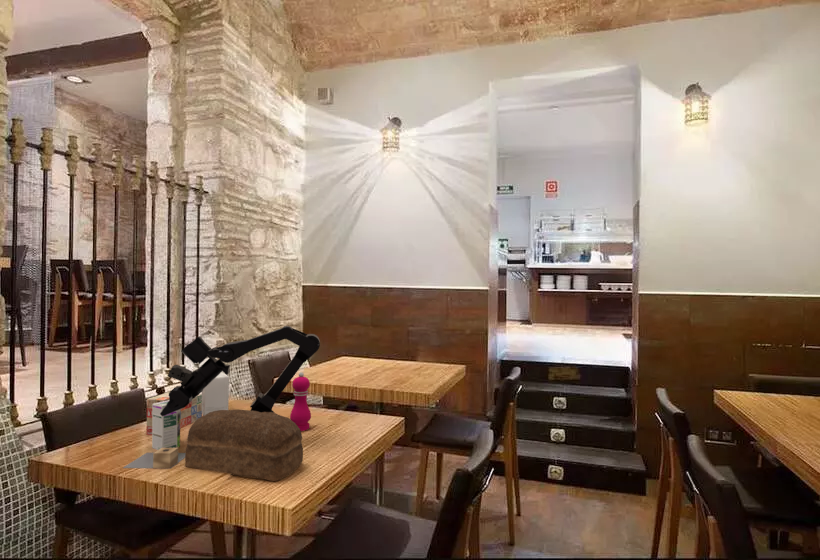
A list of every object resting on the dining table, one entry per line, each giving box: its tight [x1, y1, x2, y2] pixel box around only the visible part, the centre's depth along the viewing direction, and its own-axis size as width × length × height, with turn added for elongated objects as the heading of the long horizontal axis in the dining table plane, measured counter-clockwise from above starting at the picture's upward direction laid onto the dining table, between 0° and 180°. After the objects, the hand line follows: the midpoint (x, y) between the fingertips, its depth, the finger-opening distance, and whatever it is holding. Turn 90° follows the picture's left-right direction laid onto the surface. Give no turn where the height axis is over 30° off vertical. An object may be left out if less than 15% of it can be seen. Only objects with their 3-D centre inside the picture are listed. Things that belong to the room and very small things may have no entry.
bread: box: [184, 409, 304, 482], centre depth 132 cm, size 15×32×16 cm, turn 74°
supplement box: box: [201, 372, 230, 416], centre depth 186 cm, size 9×9×15 cm
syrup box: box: [151, 400, 181, 451], centre depth 145 cm, size 6×6×14 cm
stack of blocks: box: [146, 391, 203, 436], centre depth 169 cm, size 21×6×12 cm, turn 170°
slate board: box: [122, 452, 186, 470], centre depth 134 cm, size 13×12×1 cm
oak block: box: [152, 447, 179, 469], centre depth 130 cm, size 4×4×4 cm
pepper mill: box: [289, 371, 312, 432], centre depth 167 cm, size 7×7×20 cm
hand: (166, 411), depth 145 cm, fingers open, 9 cm apart
